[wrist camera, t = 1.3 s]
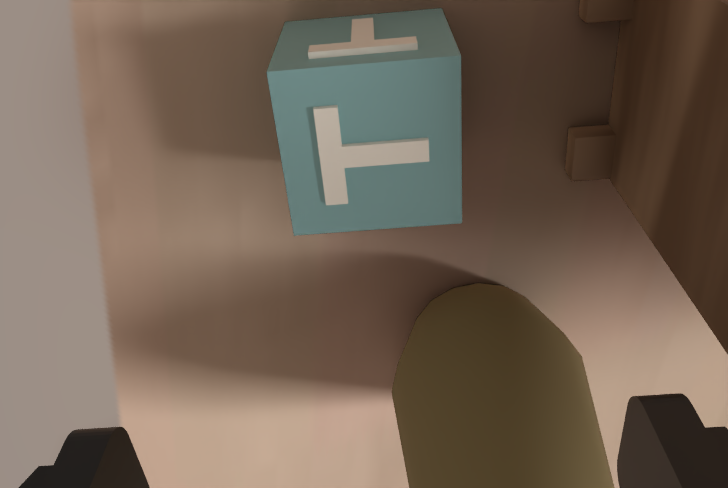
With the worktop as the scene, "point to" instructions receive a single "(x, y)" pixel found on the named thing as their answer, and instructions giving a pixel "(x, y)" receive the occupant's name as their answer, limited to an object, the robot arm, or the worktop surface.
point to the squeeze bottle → (495, 398)
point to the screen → (668, 138)
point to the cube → (369, 121)
